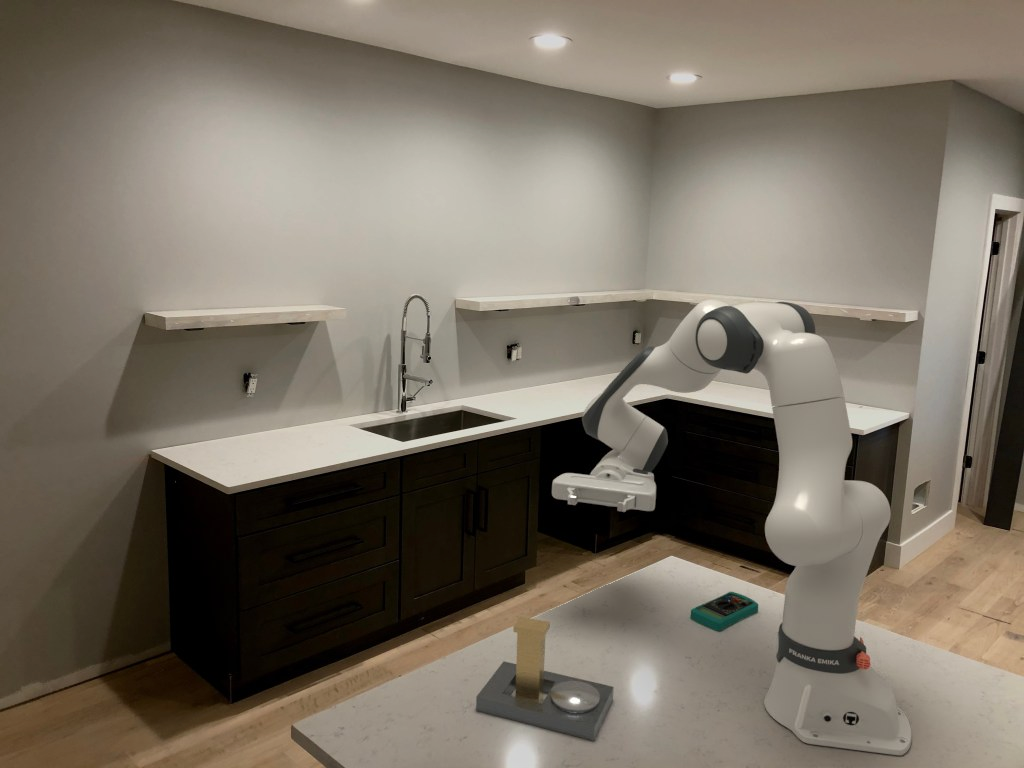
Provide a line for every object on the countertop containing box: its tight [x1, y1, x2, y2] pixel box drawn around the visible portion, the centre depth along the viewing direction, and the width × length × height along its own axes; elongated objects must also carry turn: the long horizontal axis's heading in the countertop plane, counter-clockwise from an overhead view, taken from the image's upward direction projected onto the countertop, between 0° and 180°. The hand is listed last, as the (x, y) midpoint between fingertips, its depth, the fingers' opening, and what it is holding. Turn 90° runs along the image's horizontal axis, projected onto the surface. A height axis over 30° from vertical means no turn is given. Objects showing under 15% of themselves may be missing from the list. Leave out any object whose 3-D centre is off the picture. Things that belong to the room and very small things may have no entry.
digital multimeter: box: [689, 591, 759, 632], centre depth 166 cm, size 7×15×3 cm, turn 131°
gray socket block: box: [475, 660, 615, 742], centre depth 133 cm, size 20×12×3 cm, turn 69°
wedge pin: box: [513, 616, 551, 703], centre depth 133 cm, size 5×4×14 cm
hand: (596, 504), depth 148 cm, fingers open, 8 cm apart
